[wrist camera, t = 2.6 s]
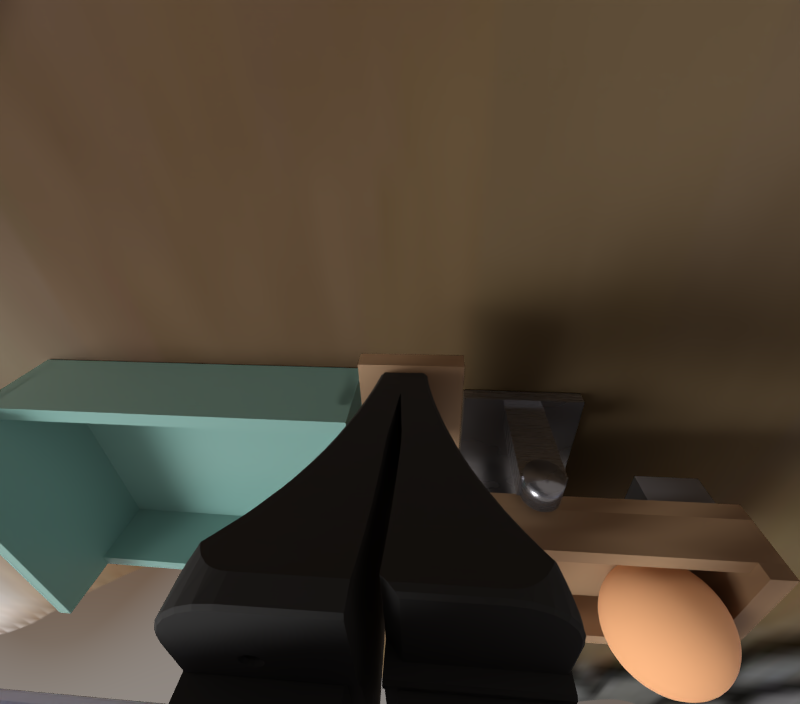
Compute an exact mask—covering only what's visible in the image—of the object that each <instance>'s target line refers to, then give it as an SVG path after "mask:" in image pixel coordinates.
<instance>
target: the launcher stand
mask: <svg viewBox="0 0 800 704" xmlns="http://www.w3.org/2000/svg"><path fill="white" fill-rule="evenodd" d="M584 403H585V402H584V400H583V398H582V396H581V394H575V393H545V392H514V391H483V390H464V393H463V406H462V419H461V432H460V445H459V450H460V452H461V454H462V455H463V457H464V458H465V460H466V461H467V463H468V464H469V466H470V467H471V469H472V470H473V471H474V473H475V474H476V475H477V477H478V478H479V480H480V481H481V482H482V483H483V485H484V486H485V487H486V488H487V490H488V491H489V492H490V493H509V494H516V495H520V496H521V498H522V500H523V501H524V503H525V504H526V505H528V506H529V507H530V508H532V509H534V510H537V511H540V512H551V511H554V510H556V509H557V508H558V507H559V505H560V503H561V499H562V498H563V495H564V491H565V488H566V485H567V482H568V476H567V474H566V471H565V468H566V464H567V461H568V457H569V454H570V451H571V447H572V444H573V441H574V437H575V434H576V430H577V427H578V424H579V420H580V417H581V414H582V410H583V407H584Z"/></svg>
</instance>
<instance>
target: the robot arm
mask: <svg viewBox="0 0 800 704" xmlns="http://www.w3.org/2000/svg"><path fill="white" fill-rule="evenodd" d="M154 630H155V633H156V635H157V637H158V639H159V641H160V643H161V644H162V645H163V646H164V648H165V649H166V650H167V651H168V652H169V654H170V655H171V656H172V657H173V658H174V660H175V661H176V662H177V663H178V665H179V666H180V667H181V668H182V669H183V673H182V675H181V677H180V680H179V682H178V684H177V686H176V688H175V691H174V693H173V695H172V697H171V700H170V702H169V704H380V695H381V680H382V687H383V688H384V689H385V694H386V702H387V704H577V702H578V695H577V691H576V687H575V683H574V679H573V675H572V671H571V670H572V668H573V666H574V664H575V663H576V661H577V659H578V657H579V655H580V653H581V651H582V649H583V647H584V645H585V640H586V633H585V630H584V626H583V622H582V619H581V615H580V613H579V610H578V608H577V605H576V603H575V600H574V598H573V595H572V593H571V591H570V589H569V586H568V584H567V582H566V580H565V578H564V576H563V574H562V572H561V570H560V568H559V566H558V564H557V562H556V561H555V560H554V559H552V558H551V557H550V556H549V555H548V554H547V553H546V552H545V551H544V550H543V549H542V548H541V547H540V546H539V545H538V544H537V543H536V542H535V541H534V540H533V539H532V538H531V537H530V536H529V535H528V534H527V533H526V532H525V531H524V530H523V529H522V528H521V527H520V526H519V525H518V524H517V523H516V522H515V521H514V520H513V519H512V518H511V516H510V515H509V514H508V513H507V512H506V511H505V510H504V509H503V508H502V506H501V505H500V504H499V503H498V502H497V500H496V499H495V498H494V497H493V496H492V494H491V493H490V492H489V491H488V490H487V488H486V487H485V486H484V485H483V483H482V482H481V481H480V480H479V478H478V477H477V475H476V474H475V473H474V471H473V470H472V469H471V467H470V466H469V464H468V463H467V461H466V460H465V458H464V457H463V455H462V454H461V452H460V450H459V449H458V447H457V446H456V444H455V442H454V440H453V439H452V437H451V435H450V433H449V431H448V430H447V428H446V426H445V424H444V422H443V420H442V417H441V415H440V413H439V411H438V409H437V406H436V404H435V401H434V399H433V396H432V393H431V390H430V387H429V382H428V376H427V375H425V374H424V373H390V372H385V373H383V374H382V375H381V377H380V378H379V380H378V382H377V384H376V385H375V387H374V388H373V390H372V392H371V393H370V395H369V396H368V398H367V399H366V400H365V402H364V403H363V404H362V406H361V407H360V409H359V410H358V411H357V413H356V414H355V415H354V417H353V418H352V419H351V420H350V421H349V423H348V424H347V425H346V426H345V427H344V429H343V430H342V431H341V432H340V433H339V435H338V436H337V437H336V438H335V439H334V440H333V441H332V442H331V443H330V444H329V445H328V446H327V447H326V449H325V450H324V451H323V452H321V453H320V454H319V455H318V456H317V457H316V458H315V459H314V460H313V461H312V462H311V463H310V464H309V465H308V466H307V467H305V468H304V469H303V470H302V471H301V472H300V473H299V474H298V475H297V476H295V477H294V478H293V479H292V480H291V481H289V482H288V483H287V484H286V485H284V486H283V487H282V488H281V489H279V490H278V491H276V492H275V493H274V494H272V495H271V496H270V497H268V498H267V499H266V500H264V501H263V502H262V503H260V504H259V505H258V506H256V507H255V508H254V509H252V510H251V511H249V512H248V513H246V514H245V515H243V516H242V517H240V518H238V519H237V520H235V521H234V522H232V523H230V524H229V525H227V526H226V527H224V528H222V529H221V530H219V531H218V532H216V533H214V534H213V535H211V536H209V537H208V538H206V539H204V540H203V541H201V542H200V543H199V545H198V547H197V548H196V550H195V551H194V553H193V554H192V556H191V557H190V558H189V560H188V561H187V563H186V564H185V566H184V568H183V570H182V571H181V573H180V575H179V576H178V578H177V580H176V582H175V584H174V586H173V587H172V589H171V591H170V593H169V595H168V597H167V598H166V600H165V602H164V604H163V606H162V607H161V609H160V611H159V613H158V615H157V617H156V618H155V624H154ZM385 633H386V645H385V657H384V668H383V679H382V665H383V649H384V634H385ZM0 704H163V703H152V702H141V701H130V700H118V699H108V698H96V697H86V696H75V695H64V694H54V693H42V692H32V691H21V690H10V689H0Z"/></svg>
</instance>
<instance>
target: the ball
mask: <svg viewBox="0 0 800 704" xmlns="http://www.w3.org/2000/svg"><path fill="white" fill-rule="evenodd" d="M598 615H599V621H600V625H601V629H602V632H603V634H604V637H605V639H606V641H607V643H608V645H609V647H610V649H611V651H612V652H613V654H614V655H615V656H616V658H617V659H618V661H619V662H620V663H621V664H622V666H623V667H624V668H625V669H626V670H627V671H628V672H629V673H630V674H631V675H632V676H633V677H634V678H635V679H637V680H638V681H639V682H640V683H642V684H643V685H644V686H646V687H647V688H649V689H651V690H652V691H654V692H656V693H658V694H660V695H662V696H665V697H667V698H669V699H673V700H676V701H681V702H689V703H699V702H706V701H710V700H713V699H715V698H717V697H720V696H721V695H722V694H724V693H725V692H726V691H728V690H729V688H730V687H731V686H732V685H733V683H734V682H735V680H736V678H737V676H738V674H739V670H740V666H741V657H742V651H741V643H740V638H739V634H738V630H737V628H736V625H735V623H734V620H733V618H732V616H731V614H730V613H729V611H728V609H727V607H726V606H725V605H724V603H723V602H722V600H721V599H720V598H719V596H718V595H717V594H716V593H715V592H714V591H713V590H712V589H711V588H710V587H709V586H708V585H707V584H706V583H705V582H704V581H703V580H701V579H700V578H699V577H697V576H696V575H695V574H693V573H692V572H690V571H689V570H687V569H672V568H656V567H640V566H623V565H617V566H616V567H614V568H613V569H612V570H611V571H610V572H609V573H608V575H607V576H606V577H605V579H604V581H603V583H602V585H601V588H600V591H599V597H598Z"/></svg>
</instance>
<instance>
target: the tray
mask: <svg viewBox="0 0 800 704" xmlns="http://www.w3.org/2000/svg"><path fill="white" fill-rule="evenodd" d="M361 406H362V402H361V392H360V383H359V373H358V368H330V367H295V366H259V365H223V364H188V363H152V362H117V361H81V360H47V361H45V362H44V363H42V364H41V365H39V366H37V367H36V368H34V369H33V370H31V371H29V372H28V373H26V374H25V375H23V376H21V377H20V378H18V379H17V380H15V381H14V382H12V383H10V384H9V385H7V386H6V387H4V388H2V389H1V390H0V555H1V556H2V557H3V558H4V559H5V560H6V561H7V562H8V563H9V564H10V565H11V566H13V567H14V568H15V569H16V570H17V571H18V572H19V573H20V574H21V575H22V576H23V577H24V578H25V579H26V580H27V581H28V582H29V583H30V584H31V585H32V586H33V587H34V588H35V589H36V590H37V591H38V592H39V593H40V594H41V595H42V596H44V597H45V598H46V599H47V600H48V601H49V602H50V603H51V604H52V605H53V606H54V607H55V608H56V609H57V610H58V611H59V612H62V613H72V611H73V610H74V608H75V607H76V606H77V604H78V603H79V602H80V600H81V599H82V598H83V596H84V595H85V594H86V592H87V591H88V590H89V588H90V587H91V585H92V584H93V583H94V581H95V580H96V579H97V577H98V576H99V575H100V573H101V572H102V571H103V569H104V568H105V567H106V565H107V564H108V563H110V564H122V565H135V566H147V567H161V568H173V569H183V568H184V566H185V564H186V563H187V561H188V560H189V558H190V557H191V556H192V554H193V553H194V551H195V550H196V548H197V547H198V545H199V543H200V542H201V541H203V540H204V539H206V538H208V537H209V536H211V535H213V534H214V533H216V532H218V531H219V530H221V529H222V528H224V527H226V526H227V525H229V524H230V523H232V522H234V521H235V520H237V519H238V518H240V517H242V516H243V515H245V514H246V513H248V512H249V511H251V510H252V509H254V508H255V507H256V506H258V505H259V504H260V503H262V502H263V501H264V500H266V499H267V498H268V497H270V496H271V495H272V494H274V493H275V492H276V491H278V490H279V489H281V488H282V487H283V486H284V485H286V484H287V483H288V482H289V481H291V480H292V479H293V478H294V477H295V476H297V475H298V474H299V473H300V472H301V471H302V470H303V469H304V468H305V467H307V466H308V465H309V464H310V463H311V462H312V461H313V460H314V459H315V458H316V457H317V456H318V455H319V454H320V453H321V452H323V451H324V450H325V449H326V447H327V446H328V445H329V444H330V443H331V442H332V441H333V440H334V439H335V438H336V437H337V436H338V435H339V433H340V432H341V431H342V430H343V429H344V427H345V426H346V425H347V424H348V423H349V421H350V420H351V419H352V418H353V417H354V415H355V414H356V413H357V411H358V410H359V409H360V407H361Z"/></svg>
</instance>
